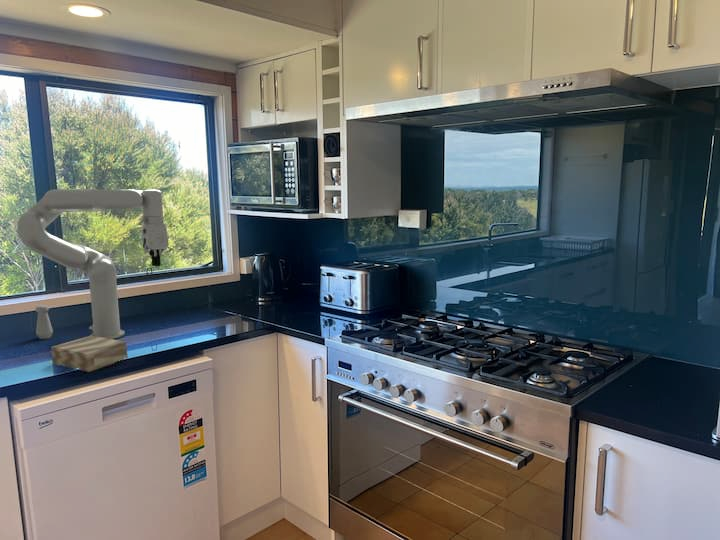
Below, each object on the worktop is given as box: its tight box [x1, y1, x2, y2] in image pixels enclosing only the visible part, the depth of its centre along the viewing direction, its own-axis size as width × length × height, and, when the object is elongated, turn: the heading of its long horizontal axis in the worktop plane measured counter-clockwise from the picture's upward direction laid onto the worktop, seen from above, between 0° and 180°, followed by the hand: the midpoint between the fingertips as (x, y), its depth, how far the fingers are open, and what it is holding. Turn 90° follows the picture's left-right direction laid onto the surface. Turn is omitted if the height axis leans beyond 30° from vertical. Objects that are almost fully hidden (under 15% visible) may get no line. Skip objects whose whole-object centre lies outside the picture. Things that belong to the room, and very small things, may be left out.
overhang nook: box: [51, 335, 128, 373], centre depth 183 cm, size 18×15×6 cm
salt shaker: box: [35, 304, 54, 340], centre depth 211 cm, size 6×6×13 cm
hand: (156, 265), depth 218 cm, fingers closed
